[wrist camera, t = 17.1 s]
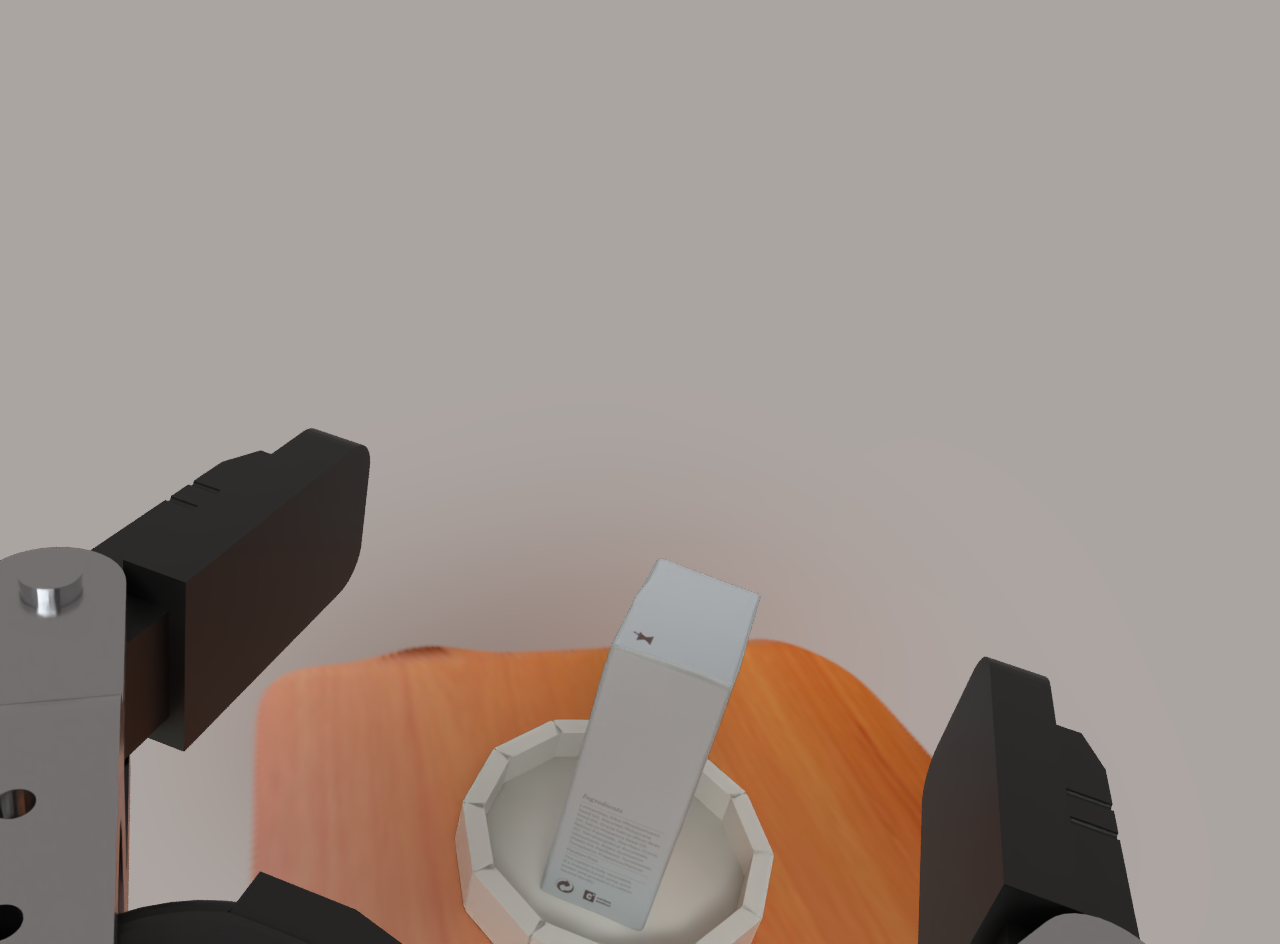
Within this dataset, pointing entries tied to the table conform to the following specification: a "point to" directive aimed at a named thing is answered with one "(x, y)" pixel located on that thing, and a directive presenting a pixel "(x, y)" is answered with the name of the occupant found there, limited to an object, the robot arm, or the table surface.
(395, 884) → the table surface
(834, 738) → the table surface
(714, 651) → the skincare box
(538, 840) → the bowl
